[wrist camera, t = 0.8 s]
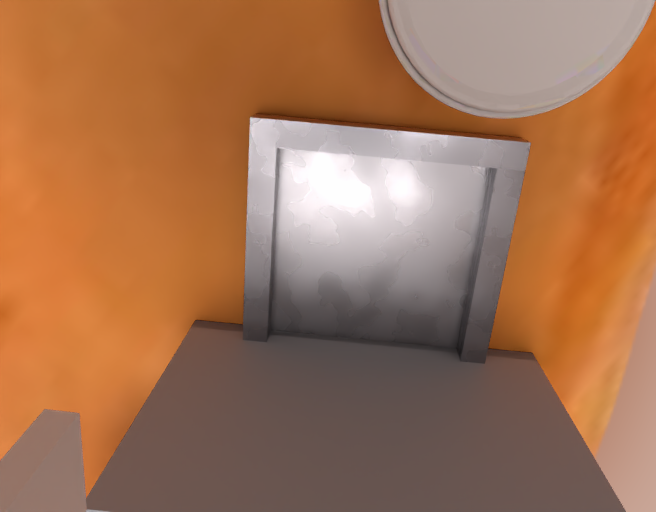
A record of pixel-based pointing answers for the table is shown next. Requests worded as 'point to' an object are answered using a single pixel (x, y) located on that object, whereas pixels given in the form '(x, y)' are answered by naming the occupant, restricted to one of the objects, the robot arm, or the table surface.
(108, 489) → the wall board
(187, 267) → the table surface
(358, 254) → the plate
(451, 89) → the coffee cup
